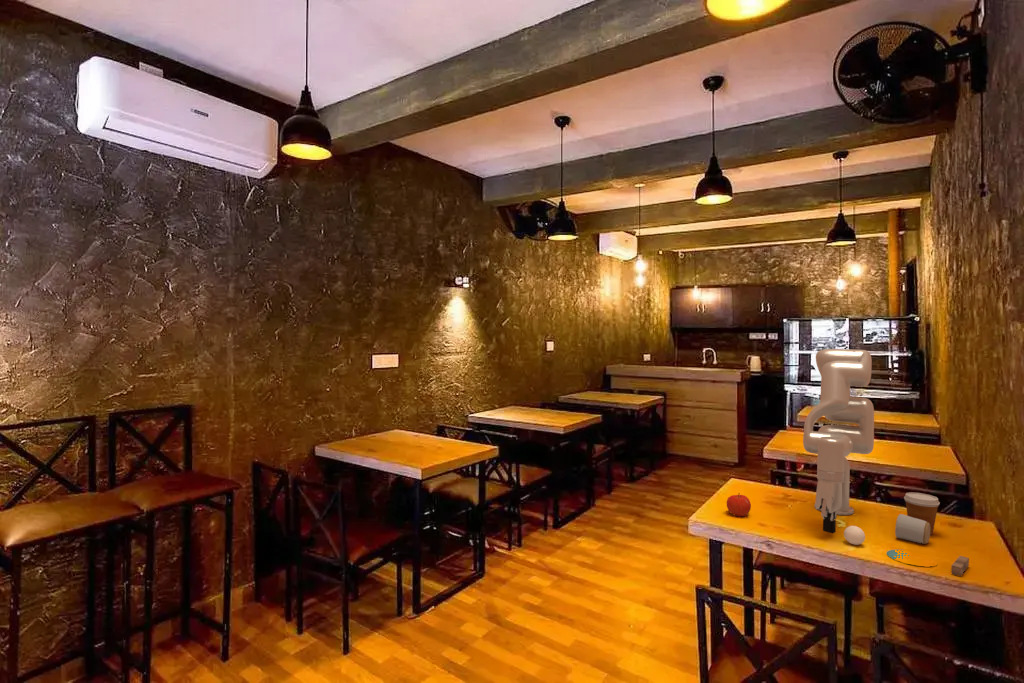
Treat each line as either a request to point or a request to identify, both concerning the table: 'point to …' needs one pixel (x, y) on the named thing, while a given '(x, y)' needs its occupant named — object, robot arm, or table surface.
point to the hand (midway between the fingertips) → (829, 531)
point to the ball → (854, 535)
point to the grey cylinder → (912, 529)
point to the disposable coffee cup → (922, 507)
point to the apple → (738, 505)
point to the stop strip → (960, 565)
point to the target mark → (894, 554)
